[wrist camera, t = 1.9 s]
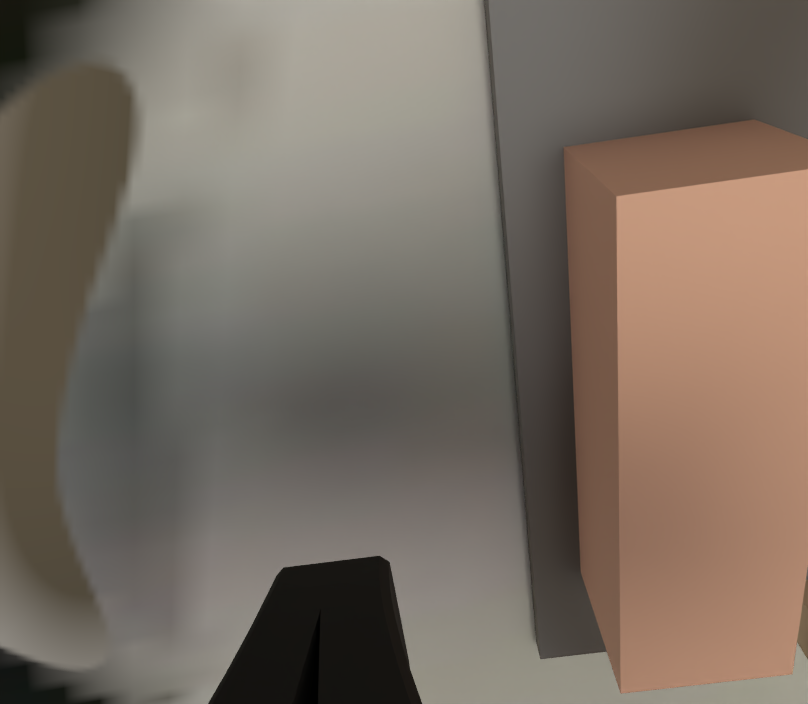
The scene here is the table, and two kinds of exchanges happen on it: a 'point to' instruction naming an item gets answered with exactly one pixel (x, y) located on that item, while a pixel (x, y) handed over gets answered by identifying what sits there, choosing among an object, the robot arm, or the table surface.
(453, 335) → the table surface
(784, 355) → the t block
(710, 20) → the t frame
